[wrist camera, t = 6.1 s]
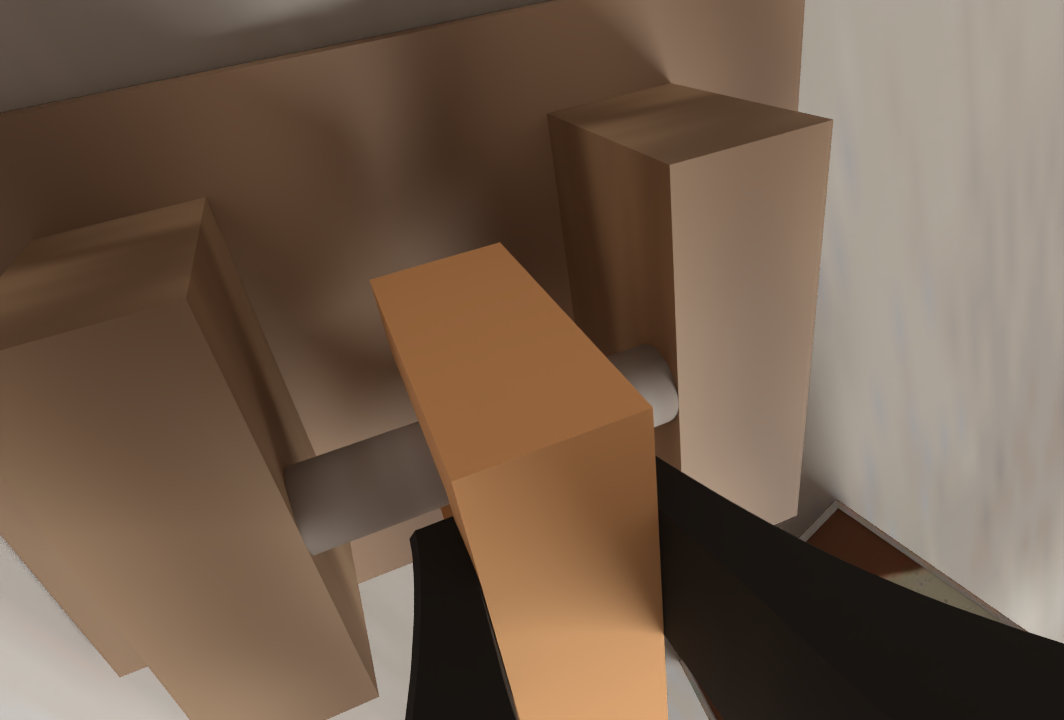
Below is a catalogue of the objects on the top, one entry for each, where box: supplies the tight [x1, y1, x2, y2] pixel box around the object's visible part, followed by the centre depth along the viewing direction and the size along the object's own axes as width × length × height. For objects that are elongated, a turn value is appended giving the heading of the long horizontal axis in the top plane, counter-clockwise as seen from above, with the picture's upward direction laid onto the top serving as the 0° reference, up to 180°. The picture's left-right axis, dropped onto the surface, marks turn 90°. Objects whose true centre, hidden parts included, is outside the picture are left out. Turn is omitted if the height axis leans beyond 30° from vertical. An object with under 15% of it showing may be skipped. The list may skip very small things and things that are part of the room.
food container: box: [679, 499, 1027, 720], centre depth 25 cm, size 12×6×10 cm, turn 138°
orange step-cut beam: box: [369, 242, 668, 720], centre depth 11 cm, size 2×7×6 cm, turn 9°
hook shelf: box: [0, 0, 833, 720], centre depth 14 cm, size 20×13×6 cm, turn 99°
